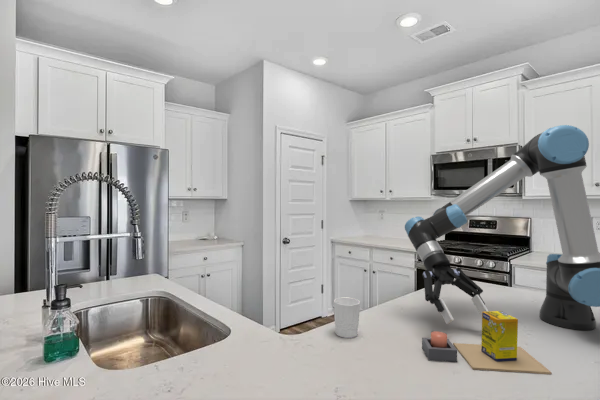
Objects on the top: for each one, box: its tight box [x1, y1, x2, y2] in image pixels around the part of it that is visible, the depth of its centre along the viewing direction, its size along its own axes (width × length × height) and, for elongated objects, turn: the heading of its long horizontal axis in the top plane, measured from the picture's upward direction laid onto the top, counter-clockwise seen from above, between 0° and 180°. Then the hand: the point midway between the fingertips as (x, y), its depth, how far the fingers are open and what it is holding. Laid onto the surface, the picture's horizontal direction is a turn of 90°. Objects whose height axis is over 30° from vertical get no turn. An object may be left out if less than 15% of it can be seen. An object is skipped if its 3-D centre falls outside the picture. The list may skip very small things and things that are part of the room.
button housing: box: [421, 337, 458, 363], centre depth 91 cm, size 7×7×3 cm
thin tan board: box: [452, 342, 552, 375], centre depth 90 cm, size 18×14×1 cm
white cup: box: [333, 296, 361, 339], centre depth 105 cm, size 8×8×10 cm
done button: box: [430, 330, 448, 348], centre depth 91 cm, size 4×4×4 cm
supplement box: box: [480, 310, 519, 362], centre depth 90 cm, size 6×6×11 cm
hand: (469, 319), depth 99 cm, fingers open, 13 cm apart
